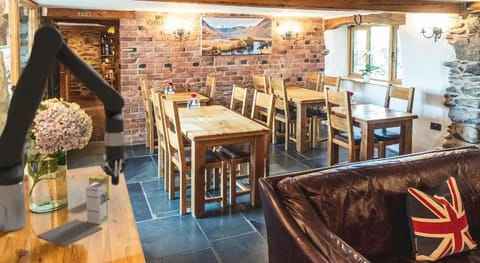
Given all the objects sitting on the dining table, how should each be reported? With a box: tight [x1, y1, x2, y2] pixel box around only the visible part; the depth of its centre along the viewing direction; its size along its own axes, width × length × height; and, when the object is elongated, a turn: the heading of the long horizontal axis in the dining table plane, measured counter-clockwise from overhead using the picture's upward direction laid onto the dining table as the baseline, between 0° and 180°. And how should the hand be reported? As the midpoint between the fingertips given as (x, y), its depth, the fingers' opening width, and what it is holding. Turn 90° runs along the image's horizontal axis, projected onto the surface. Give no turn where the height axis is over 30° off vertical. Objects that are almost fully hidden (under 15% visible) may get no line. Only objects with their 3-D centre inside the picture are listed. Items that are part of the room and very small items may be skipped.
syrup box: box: [85, 183, 109, 225], centre depth 162 cm, size 6×6×14 cm
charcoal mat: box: [36, 218, 103, 248], centre depth 153 cm, size 17×14×1 cm
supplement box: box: [88, 173, 110, 201], centre depth 182 cm, size 6×6×11 cm
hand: (115, 184), depth 169 cm, fingers closed
